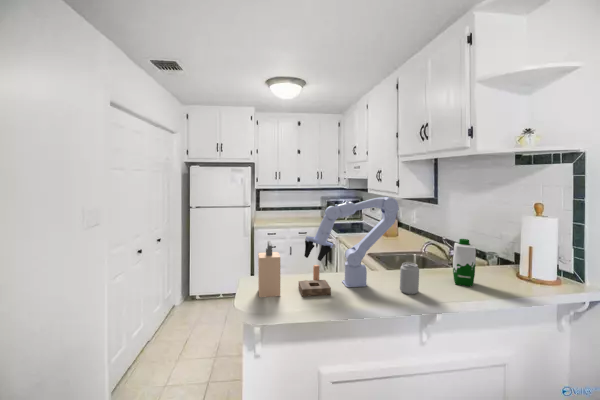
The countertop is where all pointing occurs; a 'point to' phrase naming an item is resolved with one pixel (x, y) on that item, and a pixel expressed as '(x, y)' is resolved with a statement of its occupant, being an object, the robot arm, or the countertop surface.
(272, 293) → the soap dispenser
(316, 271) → the pin
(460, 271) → the milk carton
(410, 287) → the can
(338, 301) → the countertop surface
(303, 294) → the block
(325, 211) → the robot arm
